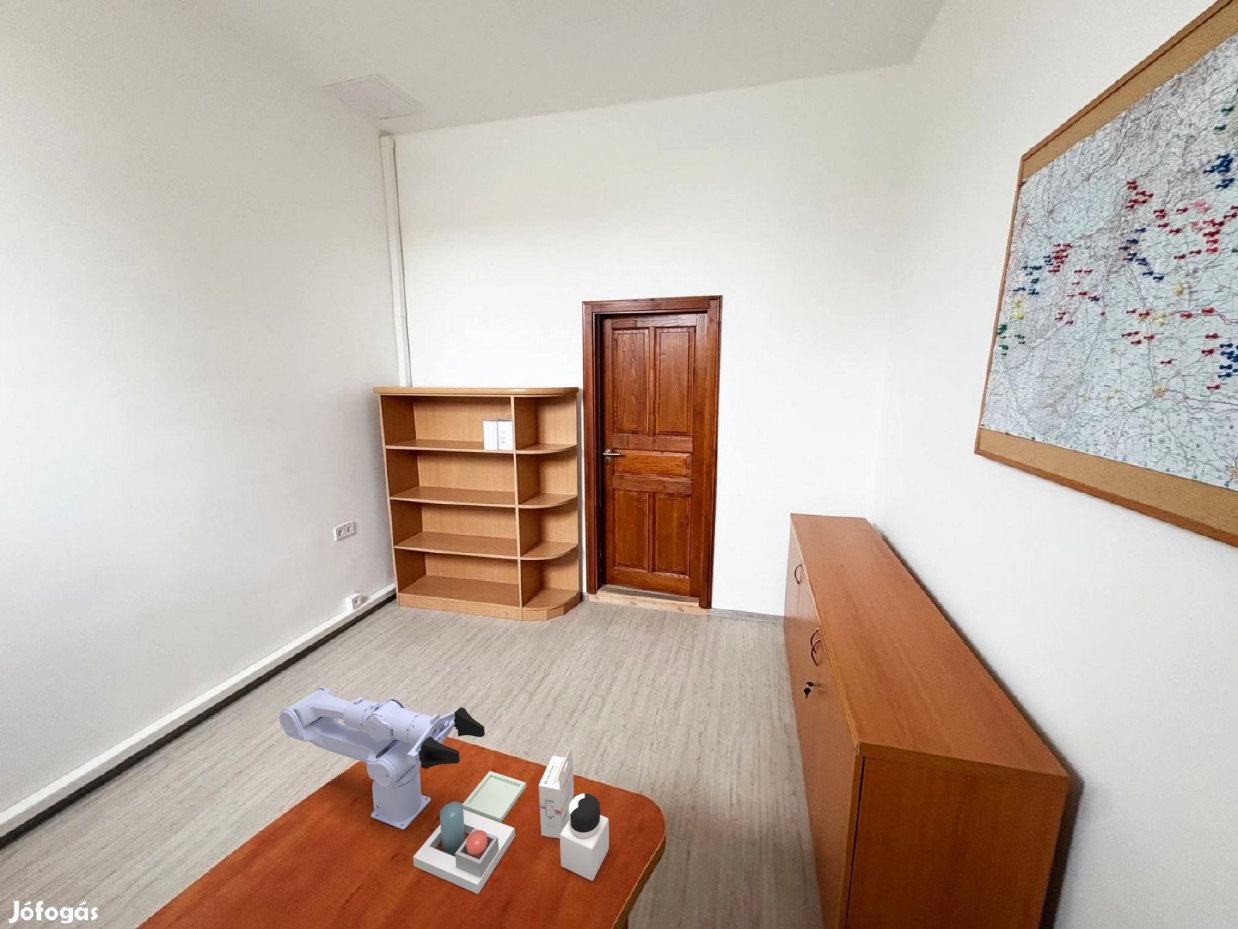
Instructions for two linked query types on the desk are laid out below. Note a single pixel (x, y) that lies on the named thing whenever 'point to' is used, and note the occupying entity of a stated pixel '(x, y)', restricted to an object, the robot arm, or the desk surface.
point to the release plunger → (476, 844)
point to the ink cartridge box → (556, 795)
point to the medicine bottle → (584, 837)
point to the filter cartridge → (452, 827)
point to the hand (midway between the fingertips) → (471, 744)
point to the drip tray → (494, 796)
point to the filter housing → (463, 866)
